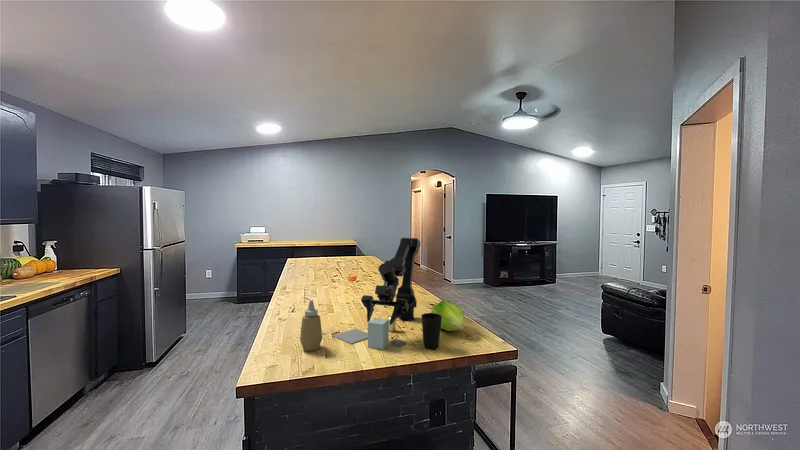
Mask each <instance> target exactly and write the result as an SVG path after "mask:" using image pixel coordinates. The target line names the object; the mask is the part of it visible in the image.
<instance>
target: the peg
mask: <svg viewBox="0 0 800 450" xmlns="http://www.w3.org/2000/svg"><path fill="white" fill-rule="evenodd" d="M391 316H392V315H389V316H388V317H387V320H389V333H396V332H397V319H396V320H395V321H394V322H393V323H392V324H391V325H390V319H391Z"/></svg>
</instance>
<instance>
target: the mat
mask: <svg viewBox="0 0 800 450" xmlns="http://www.w3.org/2000/svg"><path fill="white" fill-rule="evenodd" d="M332 338H336V339H337V340H340V341H341V342H342V341H343V342H345V343H348V344H349V345H353V344H356V343H359V342H362V341H365V340H368V332H366V331H364V330H362V329H358V328H352V329H349V330H346V331H343V332H340V333H336V334H333V335H332Z"/></svg>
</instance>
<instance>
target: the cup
mask: <svg viewBox="0 0 800 450" xmlns="http://www.w3.org/2000/svg"><path fill="white" fill-rule="evenodd" d="M420 317H421V327H422V328H421V329H422V340H423V349H425V350H428V351H436V350H438V349H439V348H438V347H440V336H441V320H442V316H441V315H439V314H436V313H431V312H427V313H426V312H425V313H423V314H421V315H420Z"/></svg>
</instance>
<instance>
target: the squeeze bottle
mask: <svg viewBox="0 0 800 450" xmlns="http://www.w3.org/2000/svg"><path fill="white" fill-rule="evenodd" d="M314 304H315V303H314V300H312V299H310V300H309V301H308V307H307V309H305V310H304V315H303V316H302V318H301V326H300V336H299V340H300V344H301V346H302V349H303V350H304V351H306V352H313V351H317V350H319V349H320V346H321V344H322V340H323V331H322V330H323V329H322V321H321V316H320V315H319V314H318V313H319V312H318V311H319V310H318V308H317V309H316V307H315V305H314Z"/></svg>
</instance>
